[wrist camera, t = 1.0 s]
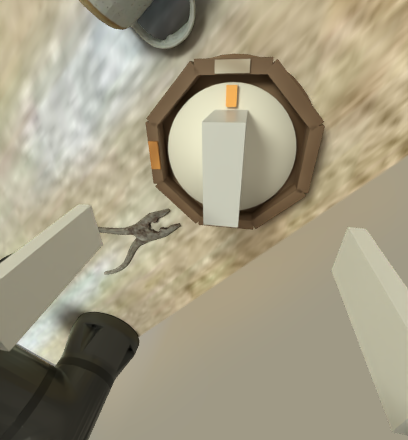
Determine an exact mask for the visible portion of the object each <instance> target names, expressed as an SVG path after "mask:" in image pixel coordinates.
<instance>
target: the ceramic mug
mask: <svg viewBox="0 0 408 440" xmlns="http://www.w3.org/2000/svg"><path fill="white" fill-rule="evenodd" d="M79 1H80V2H81V3H82V4H83V5H84V6H85V7H86V8H87V9H88V10H89V11H90V12H91V13H92V14H94V15H95V16H96V17H97V18H98V19H99V20H101V21H102V22H103V23H105V24H107V25H108V26H110V27H112V28H114V29H122V30H123V29H126V28H128V27H132V28H133V29H134V30H135V32H136V33H137V34H138V35H139V36H140V37H141V38H142V39H143V40H144V41H145V42H147V43H148V44H150V45H152V46H153V47H156V48H161V49H170V48H173V47H176V46H177V45H179V44H180V43H182V42H183V41H184V40H185V39H186V38H187V37H188V35H189V34H190V32H191V30H192V28H193V25H194V21H195V0H189V1H190V15H189V19H188V21H187V23H186V24H184V25H183V26H182V27H181V28H180V29H179V30H178V31H177V32H175V33H174V34H172V35H168V36H167V38H166V40H161V39H157V38H154V37H153V36H152V35H151V34H149V33H148V32H146V31H145V30H144V29H143V28H142V27H141V25H140V24H139V23H138V21H137V20H138V19H139V18H140V16H141V15H142V14H143V13H144V12H145V10H146V9H147V8H148V7H149V6H150V5H151V3H152V1H153V0H79Z"/></svg>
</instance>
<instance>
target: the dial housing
mask: <svg viewBox="0 0 408 440" xmlns="http://www.w3.org/2000/svg"><path fill="white" fill-rule="evenodd" d="M226 82H242V83H247V84H251V85H254V86H257V87H259V88H261V89H263V90H265V91H266V92H268V93H269V94H271V95H272V96H273V97H274V98H276V99H277V101H278V102H279V103H280V104H281V105H282V106H283V107H284V109H285V110H286V112H287V113H288V115H289V117H290V119H291V121H292V124H293V127H294V131H295V136H296V156H295V161H294V165H293V168H292V170H291V173H290V175H289V177H288V178H287V180H286V182H285V183H284V184H283V186H282V187H281V188H280V189H279V190H278V191H277V192H276V194H274V195H273V196H272V197H271V198H269V199H268V200H266V201H265V202H263V203H261V204H259V205H257V206H255V207H252V208H249V209H244V210H239V220H238V228H241V229H253V226H254V227H255V228H258V227H259V226H261V225H263V224H264V223H266V222H267V221H269V220H270V219H272V218H273V217H275V216H276V215H278V214H279V213H281V212H282V211H284V210H285V209H287V208H288V207H290V206H291V205H293V204H294V203H296V202H298V201H299V200H301V199H302V198H304V197H305V196H306V195H305V193H308V192H309V187H310V183H311V179H312V175H313V171H314V167H315V163H316V159H317V155H318V151H319V147H320V143H321V139H322V135H323V131H324V127H325V126H324V125H323V124H322V123H323V122H324V121H323V120H322V118H321V117H320V116H319V114H318V113H317V112H316V110H315V109H314V108H313V106H312V104H311V102H310V100H309V97H308V96H307V94H306V92H305V91H304V89H303V88H302V86H301V85H300V84H299V83H298V82H297V80H296V79H295V78H294V77H293V76H292V75H291V74H289V73H288V72H287V71H286V70H285V68H284V67H283V66H282V64H281V63H280V61H279V60H278V59H277V60H276V61H275V62H274V63H273V57H257V56H252V55H248V54H228V55H220V56H217V57H213V58H209V59H194V62H192V61H190V62H189V63H188V64H187V66H186V67H185V68H184V70H183V71H182V72H181V74H180V75H179V76H178V78H177V79H176V80H175V82H174V83H173V84H172V85H171V87H170V88H169V89H168V91H167V92H166V93H165V95H164V96H163V97H162V99H161V100H160V101H159V103H158V104H157V105H156V107H155V108H154V109H153V111H152V112H151V113H150V115H149V116H148V117H147V118H146V119H147V120H148V121H147V122H146V130H147V137H148V145H149V152H150V160H151V167H152V174H153V182H154V183H155V184H157V185H156V187H157V188H158V189H159V190H160V191H161V192H162V193H163V194H164V195H165V196H166V197H168V198H169V199H170V200H171V201H172V202H173V203H174V204H175V205H176V206H177V207H178V208H179V209H181V210H182V211H183V212H184V213H185V214H186V215H187V216H188V217H189V218H190V219H191V220H193V221H194V222H195V223H197V222H198V221H199V225H203V204H202V203H200V202H198V201H197V200H195V199H194V198H193V197H191V196H190V195H189V194H188V193H187V192H186V191H185V190H184V189H183V188H182V186H181V185H180V184H179V182H178V181H177V179H176V177H175V175H174V173H173V171H172V168H171V164H170V161H169V155H168V141H169V134H170V130H171V127H172V124H173V121H174V119H175V117H176V115H177V114H178V112H179V111H180V109H181V108H182V107H183V105H184V104H185V103H186V102H187V101H188V100H189V99H190V98H191V97H193V96H194V95H195V94H197V93H198V92H200V91H202V90H203V89H205V88H208V87H210V86H213V85H216V84H221V83H226ZM207 226H214V225H207ZM219 227H225V226H219ZM230 228H236V227H230Z"/></svg>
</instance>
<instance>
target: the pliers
mask: <svg viewBox="0 0 408 440" xmlns="http://www.w3.org/2000/svg"><path fill="white" fill-rule="evenodd" d="M169 211H170V209H165V210H161V211H157V212H153V213H149V214H148V215H146V216H145V217H144V218H143V219H141V220H140V221H139V222H138V223H137V224H135V225H132V226H129V227H126V228H102V227H98V229H99V232H101V233H111V234H119V235H135V236H136V239H135V241H134V242H133V243H132V245H131V247H130V249H129V251H128V254H127V257H126V259H125V261H124V263H123V264H122V265H121V266H119V267H118V268H116V269H113V270H110V271H106V272H105V273H104V274H113V273H116V272H118V271H120V270H122V269H124V268H125V267H126V266H127V265H128V264H129V262H130V260H131V259H132V257H133V255H134V253H135V251H136V250H137V248H138V247H139V246H140V245H143V244H144V243H146V242H148V241H152V240H156V239H159V238H162V237H165V236H167V235H168V234H170V233H171V232H172V231H174V230H175V229H176V228H178V227H179V226H180V223H179V224H174V225H171V226H169V227H168V228H164V227H161V228H160V231H159V232H157V231H155V230H154V229H152V230H151V229H150V224H149V222H153V223H155V222H157V220H158V218H159V217H163V216H164V215H165V214H166V213H168V212H169Z"/></svg>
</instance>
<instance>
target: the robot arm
mask: <svg viewBox="0 0 408 440" xmlns="http://www.w3.org/2000/svg"><path fill="white" fill-rule="evenodd" d="M102 245H103V242H102V239H101V236H100V233H99V229H98V226H97V223H96V220H95V216H94V213H93V210H92V207H91V205H83V204H78V205H77V206H75V207H74V208H73V209H71V210H70V211H69V212H68V213H66V214H65V215H64V216H62V217H61V218H60V219H58V220H57V221H56V222H54V223H53V224H52V225H50V226H49V227H48V228H46V229H45V230H44V231H42V232H41V233H40V234H38V235H37V236H36V237H34V238H33V239H32V240H30V241H29V242H28V243H26V244H25V245H24V246H22V247H21V248H20V249H19V250H17V251H16V252H14V253H12V254H10V255H8V256H6V257H4V258H3V259H1V260H0V440H88V439H89V437H90V434H91V432H92V430H93V428H94V426H95V423H96V421H97V419H98V417H99V414H100V412H101V410H102V407H103V405H104V403H105V400H106V398H107V396H108V394H109V392H110V389H111V387H112V385H113V383H114V380H115V379H116V377H117V376H118V375H119V374H120V372H121V371H122V370H123V369H124V367H125V366H126V365H127V364H128V363H129V361H130V360H131V359H132V358H133V356H134V355H135V353H136V350H137V348H138V346H139V338H138V336H137V334H136V333H135V331H134V330H133V329H132V328H131V327H130V326H128V325H127V324H126V323H124V322H123V321H121V320H119V319H117V318H115V317H113V316H110V315H107V314H103V313H97V312H90V313H85V314H82V315H81V316H80V317H79V318H78V319H77V321H76V322H75V323H74V325H73V326H72V329H71V332H70V335H69V337H68V340H67V343H66V346H65V349H64V352H63V355H62V357H61V359H60V360H59V362H58V363H57V365H56V366H55V367H54V366H52V365H50V364H49V363H47V362H45V361H44V360H42V359H40V358H38V357H37V356H35V355H33V354H31V353H30V352H28V351H26V350H25V349H23V348H21V347H20V346H18V345H16V343H17V342H18V341H19V340H20V339H21V338H22V336H23V335H24V334H25V333H26V332H27V331H28V330H29V328H30V327H31V326H32V325H33V324H34V323H35V322H36V321H37V319H38V318H39V317H40V316H41V315H42V314H43V313H44V311H45V310H46V309H47V308H48V307H49V306H50V305H51V303H52V302H53V301H54V300H55V299H56V298H57V297H58V295H59V294H60V293H61V292H62V291H63V290H64V289H65V287H66V286H67V285H68V284H69V283H70V282H71V281H72V279H73V278H74V277H75V276H76V275H77V274H78V273H79V271H80V270H81V269H82V268H83V267H84V266H85V265H86V263H87V262H88V261H89V260H90V259H91V258H92V257H93V255H94V254H95V253H96V252H97V251H98V250H99V249H100V248H101V246H102ZM331 271H332V274H333V277H334V279H335V282H336V285H337V287H338V290H339V292H340V295H341V298H342V300H343V303H344V306H345V308H346V311H347V314H348V316H349V319H350V322H351V324H352V327H353V330H354V332H355V335H356V337H357V340H358V343H359V346H360V348H361V351H362V353H363V356H364V359H365V362H366V364H367V367H368V369H369V372H370V375H371V377H372V380H373V383H374V386H375V388H376V391H377V393H378V396H379V398H380V401H381V404H382V407H383V409H384V412H385V415H386V417H387V420H388V423H389V425H390V428H391V431H392V432H394V433H399V434H404V435H408V289H407V287H406V286H405V284H404V283H403V281H402V280H401V278H400V277H399V276H398V274H397V273H396V271H395V270H394V268H393V267H392V266H391V264H390V263H389V261H388V260H387V258H386V257H385V255H384V254H383V253H382V251H381V250H380V248H379V247H378V245H377V244H376V242H375V241H374V240H373V238H372V237H371V235H370V234H369V232H368V231H367V230H366V229H364V228H351V227H348V228H347V231H346V233H345V236H344V238H343V241H342V244H341V246H340V249H339V252H338V254H337V257H336V259H335V262H334V265H333V267H332V270H331Z"/></svg>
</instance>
